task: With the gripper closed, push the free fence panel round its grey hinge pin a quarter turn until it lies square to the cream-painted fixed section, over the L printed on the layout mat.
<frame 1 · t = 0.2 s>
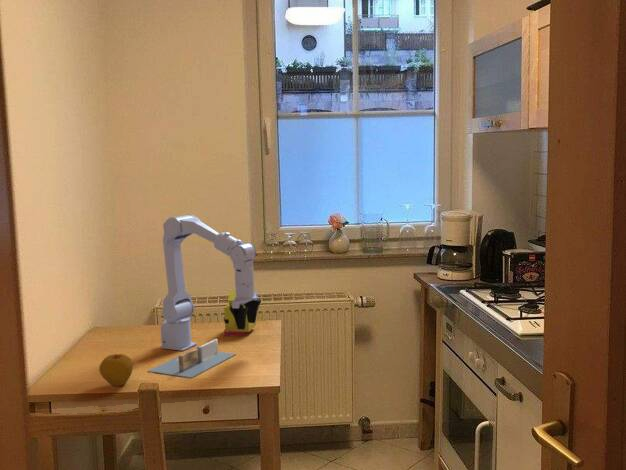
hand: (246, 325, 200), 10 cm above the table, fingers open, 7 cm apart
apple: (117, 385, 181), on the table
layout mat: (193, 363, 198), on the table
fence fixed: (199, 363, 197), resting on layout mat
toy: (239, 332, 231), on the table
fence panel: (188, 359, 192), point 3 cm above the table, hinge at 0.0°
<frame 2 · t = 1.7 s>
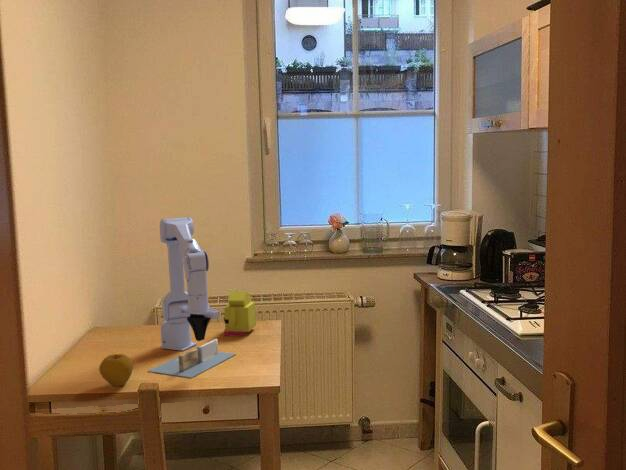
hand: (200, 339, 187), 10 cm above the table, fingers closed
nothing on the table moved.
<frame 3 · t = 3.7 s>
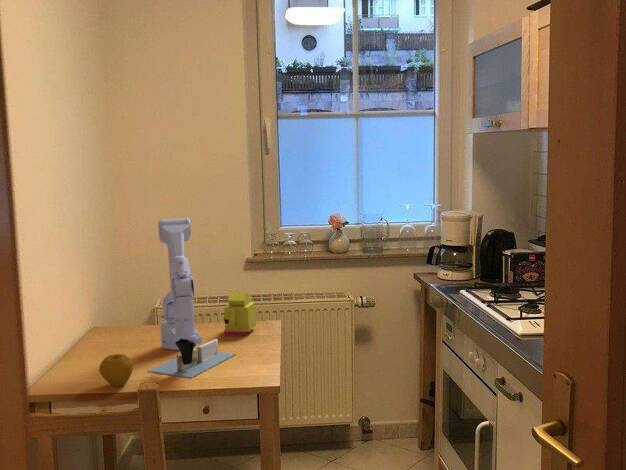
hand: (187, 363, 190), 2 cm above the table, fingers closed, pressing on fence panel
fence panel: (187, 359, 192), point 3 cm above the table, hinge at 4.4°, touching gripper
everything else where it was.
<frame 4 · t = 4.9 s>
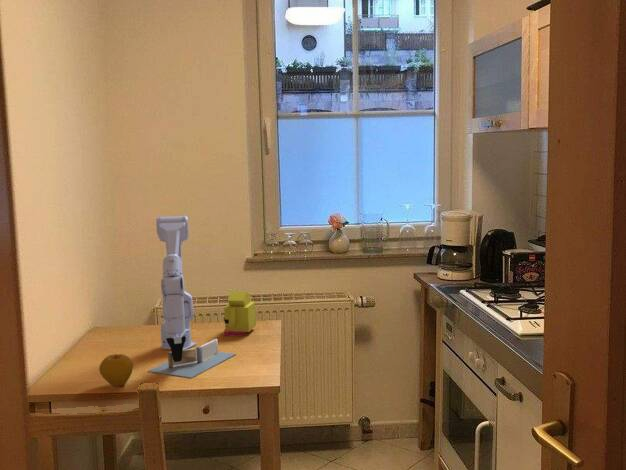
hand: (177, 361, 193), 2 cm above the table, fingers closed, pressing on fence panel
fence panel: (182, 357, 195), point 3 cm above the table, hinge at 37.3°, touching gripper
everything else where it was.
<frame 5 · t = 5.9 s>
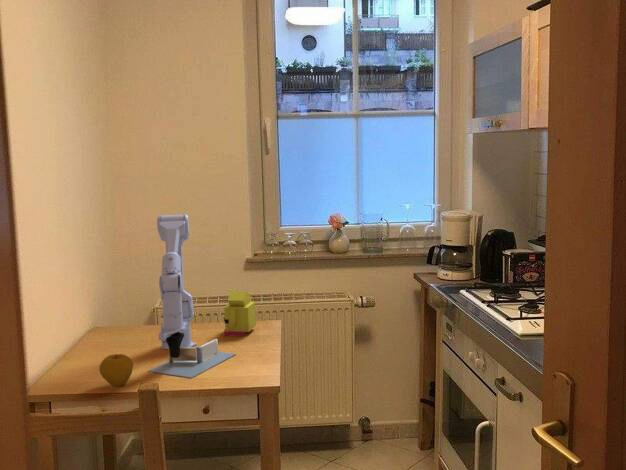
hand: (175, 357, 196), 2 cm above the table, fingers closed, pressing on fence panel
fence panel: (182, 354, 197), point 3 cm above the table, hinge at 69.6°, touching gripper
everything else where it was.
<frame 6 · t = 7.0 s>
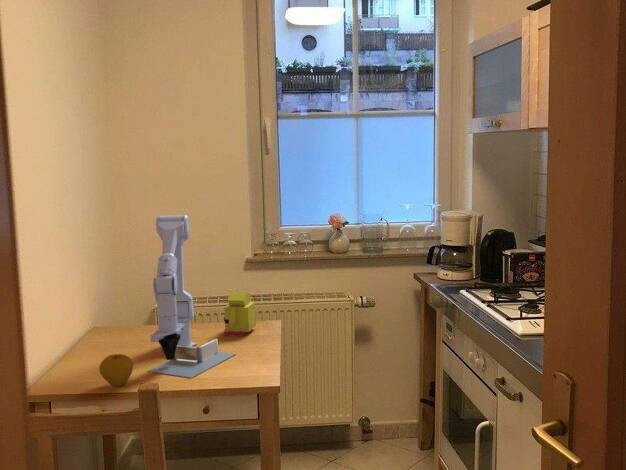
hand: (170, 359, 195), 2 cm above the table, fingers closed
fence panel: (184, 353, 199), point 3 cm above the table, hinge at 84.3°
everything else where it was.
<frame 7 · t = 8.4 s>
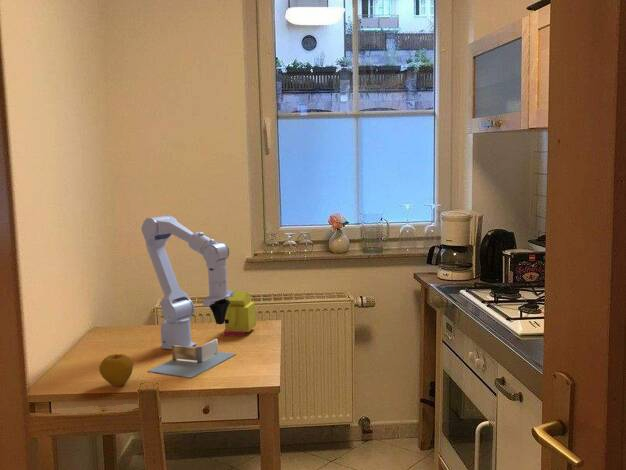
hand: (220, 323, 205), 10 cm above the table, fingers closed
nothing on the table moved.
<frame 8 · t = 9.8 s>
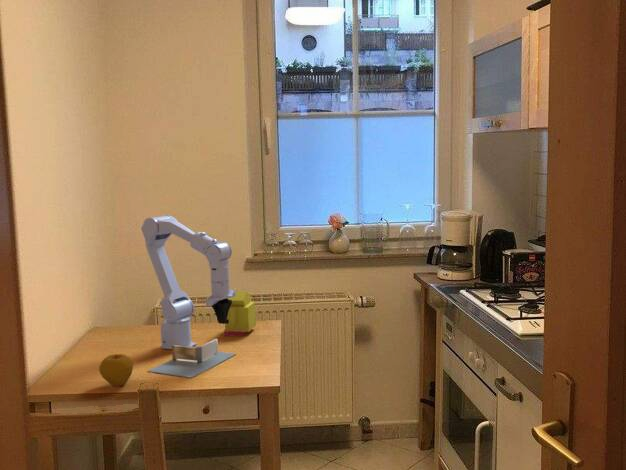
hand: (222, 323, 205), 10 cm above the table, fingers closed
nothing on the table moved.
at the end: fence panel at +84° (first picture: +0°) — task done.
